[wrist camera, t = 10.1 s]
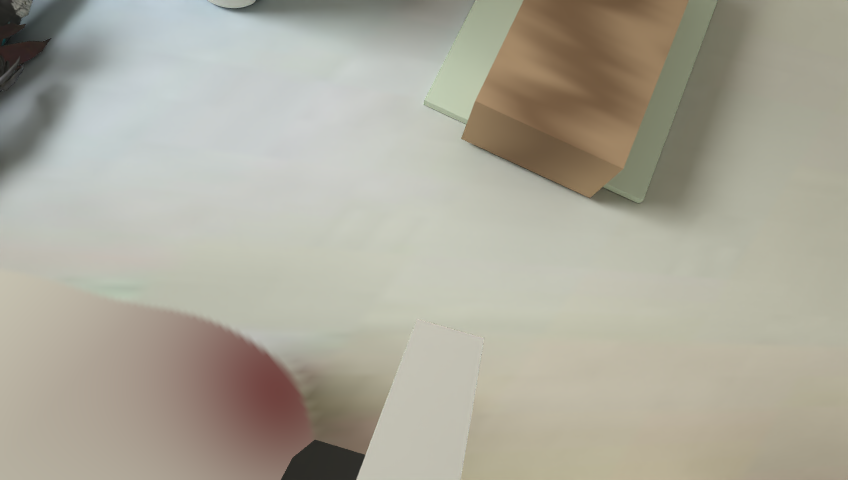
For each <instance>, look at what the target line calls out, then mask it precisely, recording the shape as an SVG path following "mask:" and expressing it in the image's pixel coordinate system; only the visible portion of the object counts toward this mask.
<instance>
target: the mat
mask: <svg viewBox="0 0 848 480" xmlns="http://www.w3.org/2000/svg"><path fill="white" fill-rule="evenodd" d="M717 1H718V0H689V1H688V4H687V6H686V9H685V11H684V14H683V17H682V19H681V22H680V24H679V27H678V29H677V32H676V35H675V37H674V40H673V42H672V45H671V47H670V50H669V53H668V55H667V58H666V60H665V63H664V65H663V68H662V71H661V73H660V76H659V78H658V81H657V83H656V86H655V89H654V91H653V94H652V96H651V99H650V102H649V104H648V107H647V109H646V112H645V114H644V117H643V120H642V122H641V125H640V127H639V130H638V132H637V135H636V138H635V140H634V143H633V145H632V148H631V150H630V153H629V156H628V158H627V161H626V163H625V166H624V168H623V170H622V171H620V172H619V173H618V174H617V175H616V176H615V177H614V178H612V179H611V180H610V181H609V182H608V183H607V184H606V185H604V186H603V187H604V188H606V189H608V190H610V191H612V192H615V193H617V194H619V195H621V196H623V197H625V198H628V199H630V200H632V201H634V202H636V203H638V204H639V203H641V202H642V201H643V200H644V197H645V195H646V192H647V189H648V187H649V184H650V181H651V179H652V176H653V173H654V170H655V168H656V165H657V162H658V160H659V157H660V154H661V152H662V149H663V146H664V144H665V141H666V138H667V136H668V133H669V130H670V127H671V125H672V122H673V119H674V117H675V114H676V111H677V109H678V106H679V103H680V101H681V98H682V95H683V93H684V90H685V87H686V84H687V82H688V79H689V76H690V74H691V71H692V68H693V66H694V63H695V60H696V58H697V55H698V52H699V50H700V47H701V44H702V42H703V39H704V36H705V33H706V31H707V28H708V25H709V23H710V20H711V17H712V15H713V12H714V9H715V7H716V4H717ZM522 2H523V0H475V2H474V4H473V6H472V8H471V10H470V12H469V14H468V16H467V18H466V20H465V22H464V24H463V26H462V27H461V29H460V31H459V33H458V35H457V37H456V39H455V41H454V43H453V45H452V47H451V49H450V51H449V53H448V55H447V57H446V59H445V61H444V63H443V65H442V67H441V69H440V71H439V73H438V75H437V77H436V79H435V81H434V83H433V84H432V86H431V88H430V90H429V92H428V94H427V96H426V98H425V100H424V105H426V106H428V107H430V108H432V109H434V110H436V111H439V112H441V113H443V114H445V115H447V116H449V117H452V118H454V119H456V120H458V121H460V122H463V123H465V124H467V122H468V119H469V116H470V113H471V111H472V108H473V105H474V102H475V100H476V98H477V96H478V94H479V92H480V90H481V88H482V86H483V83H484V81H485V79H486V77H487V75H488V73H489V71H490V69H491V67H492V65H493V63H494V61H495V59H496V56H497V54H498V52H499V50H500V48H501V46H502V44H503V42H504V40H505V38H506V36H507V34H508V32H509V29H510V27H511V25H512V23H513V21H514V19H515V17H516V15H517V13H518V11H519V9H520V7H521V5H522Z"/></svg>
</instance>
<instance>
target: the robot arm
mask: <svg viewBox="0 0 848 480" xmlns="http://www.w3.org/2000/svg"><path fill="white" fill-rule="evenodd" d="M483 344H484V338H483V337H480V336H476V335H473V334H469V333H466V332H462V331H459V330H455V329H452V328H448V327H445V326H441V325H437V324H434V323H430V322H427V321H423V320H420V319H416V322H415V325H414V327H413V330H412V333H411V335H410V338H409V341H408V343H407V346H406V349H405V351H404V354H403V357H402V359H401V362H400V365H399V367H398V370H397V373H396V375H395V378H394V381H393V383H392V386H391V389H390V391H389V394H388V397H387V399H386V402H385V405H384V407H383V410H382V413H381V415H380V418H379V421H378V423H377V426H376V429H375V431H374V434H373V437H372V439H371V442H370V445H369V447H368V450H367V453H366V455H364V454H361V453H357V452H354V451H351V450H347V449H344V448H341V447H338V446H334V445H331V444H328V443H324V442H321V441H318V440H314V441H313V442H312V443H310V444H309V445H308V446H307V447H305V448H304V449H303V450H302V451H300V452H299V453H298V454H297V455H295V456H294V457H293V458H292V460H291V462H290V464H289V466H288V467H287V469H286V471H285V473H284V475H283V477H282V479H281V480H461V475H462V469H463V463H464V457H465V451H466V445H467V439H468V433H469V427H470V421H471V415H472V409H473V403H474V397H475V391H476V385H477V379H478V373H479V368H480V362H481V356H482V350H483Z"/></svg>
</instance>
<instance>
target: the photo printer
mask: <svg viewBox="0 0 848 480" xmlns="http://www.w3.org/2000/svg"><path fill="white" fill-rule="evenodd" d="M208 1H209V2H211V3H213V4H215V5H218V6H221V7H226V8H241V7H245V6H248V5H251V4H253V3H254V2H255V1H256V0H208Z"/></svg>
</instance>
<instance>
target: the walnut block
mask: <svg viewBox="0 0 848 480" xmlns="http://www.w3.org/2000/svg"><path fill="white" fill-rule="evenodd" d="M688 1H689V0H523V2H522V5H521V7H520V9H519V11H518V13H517V15H516V17H515V19H514V21H513V23H512V25H511V27H510V29H509V32H508V34H507V36H506V38H505V40H504V42H503V44H502V46H501V48H500V50H499V52H498V54H497V56H496V59H495V61H494V63H493V65H492V67H491V69H490V71H489V73H488V75H487V77H486V79H485V81H484V83H483V86H482V88H481V90H480V92H479V94H478V96H477V98H476V100H475V102H474V105H473V108H472V111H471V113H470V116H469V119H468V122H467V124H466V127H465V130H464V133H463V135H462V138H461V139H463V140H465V141H467V142H469V143H472V144H474V145H476V146H478V147H480V148H482V149H485V150H487V151H489V152H491V153H493V154H495V155H498V156H500V157H502V158H504V159H506V160H508V161H511V162H513V163H515V164H517V165H519V166H521V167H524V168H526V169H528V170H530V171H532V172H534V173H537V174H539V175H541V176H543V177H545V178H548V179H550V180H552V181H554V182H556V183H558V184H561V185H563V186H565V187H567V188H569V189H571V190H574V191H576V192H578V193H580V194H582V195H584V196H587V197H589V198H591V197H592V196H593V195H594V194H595V193H596V192H597V191H599V190H600V189H601V188H602V187H603V186H604V185H606V184H607V183H608V182H609V181H610V180H611V179H612V178H614V177H615V176H616V175H617V174H618V173H619V172H620V171H622V170H623V168H624V166H625V163H626V161H627V158H628V156H629V153H630V150H631V148H632V145H633V143H634V140H635V138H636V135H637V132H638V130H639V127H640V125H641V122H642V120H643V117H644V114H645V112H646V109H647V107H648V104H649V102H650V99H651V96H652V94H653V91H654V89H655V86H656V83H657V81H658V78H659V76H660V73H661V71H662V68H663V65H664V63H665V60H666V58H667V55H668V53H669V50H670V47H671V45H672V42H673V40H674V37H675V35H676V32H677V29H678V27H679V24H680V22H681V19H682V17H683V14H684V11H685V9H686V6H687V4H688Z"/></svg>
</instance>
